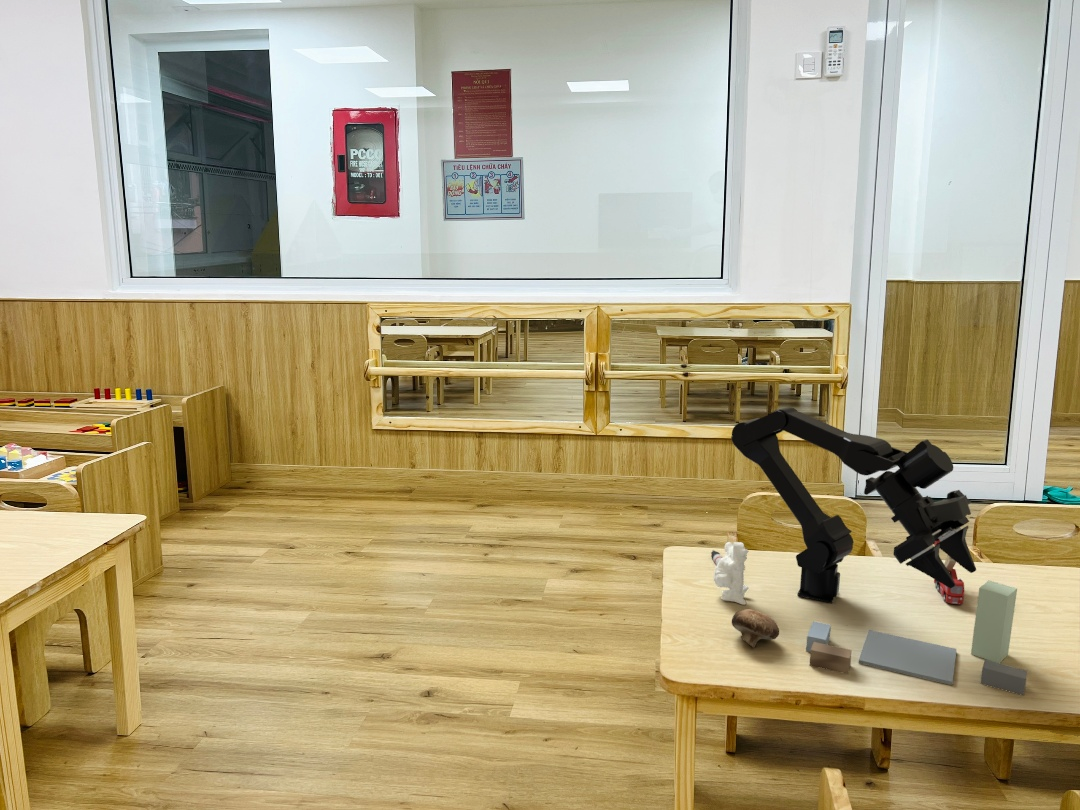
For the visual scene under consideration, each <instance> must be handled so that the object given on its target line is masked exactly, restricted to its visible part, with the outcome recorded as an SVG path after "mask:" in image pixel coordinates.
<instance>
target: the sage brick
mask: <svg viewBox="0 0 1080 810" xmlns="http://www.w3.org/2000/svg"><path fill="white" fill-rule="evenodd" d="M1017 592H1018V588H1017V587H1013V586H1011V585H1007V584H1004V583H999V582H996V581H993V580H988V581H987V580H986V582H985V583H984V584H982V585H981V586H979V590H978V595H977V602H976V603H977V604H976V609H975V610H976V611H975V618H974V619H975V620H974V624H973V625H974V627H973V635H972V641H971V648H970V649H971V651H970V654H971V655H973V656H976V657H979V658H980V659H984V660H988V661H992V662H996V663H1000V664H1001V662H1002V661H1003V660H1004V659H1006V657H1007V656H1008V655H1009V650H1010V643H1011V636H1012V628H1013V621H1014V614H1015V606H1016V600H1017Z"/></svg>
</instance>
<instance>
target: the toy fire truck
mask: <svg viewBox="0 0 1080 810" xmlns="http://www.w3.org/2000/svg"><path fill="white" fill-rule="evenodd" d="M939 542H941V541H940V540H938V541H935V543H934V544H933V546H936V544H938V543H939ZM939 550H941V549H940V548H939ZM943 563H944V565H945V567H946V568H947V570H948V572H949V573H950V575H951V577H952V578H953V580H954V582H955V584H956V585H955V586H954V587H952V588H949V587H947V586H945V585H944V584H942V583H940V582H939V581H937V580H935V579H933V583H934V588H935V589H936V590H937V592H939V593H940V594H941V595H940V596H941V597H942V600H943V602H945V603H948V604H953V605H963V604H964V598H965V597H964V595H965V582H964V581H963V580H962V579H961V578H959V579H958V574H957V570H956V569H955V568H954V567H955V565H956V564H957V562H956V561H955V560H954V559H952V558H951V557H950V556H949V555H947V554H946V557H945V562H943Z"/></svg>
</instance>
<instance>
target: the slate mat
mask: <svg viewBox="0 0 1080 810" xmlns="http://www.w3.org/2000/svg"><path fill="white" fill-rule="evenodd" d="M956 655H957V648H955V647H950V646H946V645H940V644H937V643H931V642H927V641H922V640H917V639H913V638H910V637H904V636H900V635H895V634H890V633H886V632H882V631H876V630H872V629H868V631H867V635H866V638H865V640H864V643H863V646H862V649H861V652H860V655H859V658H858V664H860V665H865V666H869V667H873V668H877V669H880V670H881V669H882V670H885V671H890V672H894V673H899V674H903V675H907V676H911V677H915V678H920V679H924V680H928V681H933V682H937V683H941V684H945V685H949V686H953V683H954V682H953V681H954V673H955V665H956Z"/></svg>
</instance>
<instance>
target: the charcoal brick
mask: <svg viewBox="0 0 1080 810" xmlns="http://www.w3.org/2000/svg"><path fill="white" fill-rule="evenodd" d="M983 661H984V662H983V664H982V669H981V675H980V676H981V677H980V685H984V686H987V685H988V686H987V687H990V686H992V687H991V688H994V687H995V688H994V689H997V688H999V689H998V690H1001V689H1003V690H1002V691H1005V690H1007V691H1006V692H1009V691H1010V693H1012V692H1014V693H1013V694H1016V693H1017V694H1016V695H1020V694H1021V695H1020V696H1023V695H1025V691H1026V684H1027V677H1028V670H1026V669H1024V668H1023V669H1022V668H1018V667H1016V666H1011V665H1007V664H1004V663H1001V662H1000V663H996V662H992V661H990V660H987V659H984V660H983Z"/></svg>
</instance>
